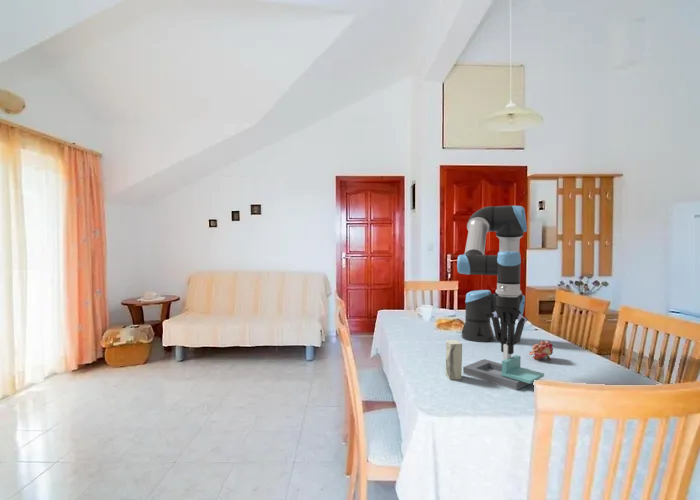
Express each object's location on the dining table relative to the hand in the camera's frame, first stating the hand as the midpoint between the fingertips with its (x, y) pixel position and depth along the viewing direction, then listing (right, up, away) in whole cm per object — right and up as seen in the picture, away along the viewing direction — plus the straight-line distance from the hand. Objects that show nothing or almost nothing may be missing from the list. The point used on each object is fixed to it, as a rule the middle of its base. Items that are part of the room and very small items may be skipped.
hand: (507, 362), depth 137 cm
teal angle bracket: (+4, -4, -4) cm, 6 cm away
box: (-18, -6, +2) cm, 19 cm away
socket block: (-2, -6, +3) cm, 7 cm away
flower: (+23, -5, +22) cm, 32 cm away
